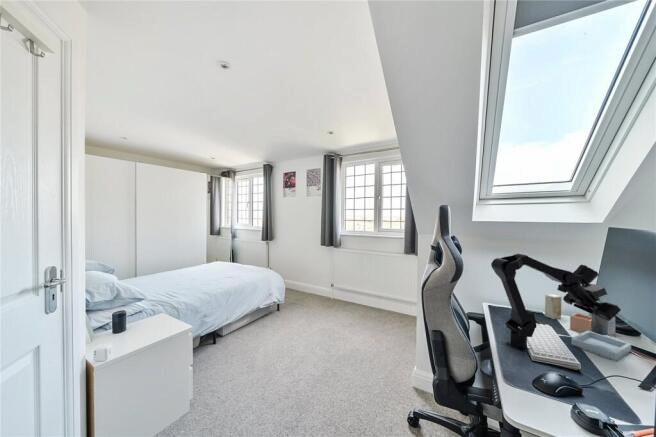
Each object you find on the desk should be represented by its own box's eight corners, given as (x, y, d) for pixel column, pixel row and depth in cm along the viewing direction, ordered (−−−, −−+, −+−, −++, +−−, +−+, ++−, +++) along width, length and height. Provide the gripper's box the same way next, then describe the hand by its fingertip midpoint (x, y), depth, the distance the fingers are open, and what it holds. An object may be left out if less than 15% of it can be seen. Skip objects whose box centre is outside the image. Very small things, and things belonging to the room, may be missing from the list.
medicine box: (615, 335, 114) (616, 317, 114) (606, 335, 114) (606, 317, 114) (597, 327, 122) (597, 310, 122) (588, 327, 122) (588, 310, 122)
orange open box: (589, 335, 114) (590, 320, 114) (570, 329, 120) (570, 315, 120) (596, 332, 117) (596, 318, 117) (576, 326, 123) (576, 312, 123)
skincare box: (553, 319, 131) (553, 297, 130) (544, 316, 135) (544, 294, 135) (561, 318, 133) (562, 296, 132) (552, 315, 137) (552, 293, 136)
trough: (615, 361, 94) (616, 353, 94) (571, 344, 106) (571, 338, 106) (630, 351, 101) (631, 344, 101) (587, 336, 113) (587, 330, 113)
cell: (599, 335, 102) (600, 307, 101) (587, 329, 106) (588, 302, 106) (611, 335, 102) (612, 307, 101) (598, 329, 106) (599, 303, 106)
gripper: (616, 285, 94) (645, 313, 94) (570, 273, 113) (593, 296, 113) (595, 305, 95) (623, 333, 95) (552, 289, 113) (576, 313, 113)
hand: (602, 317), depth 104 cm, fingers closed on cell, 5 cm apart
